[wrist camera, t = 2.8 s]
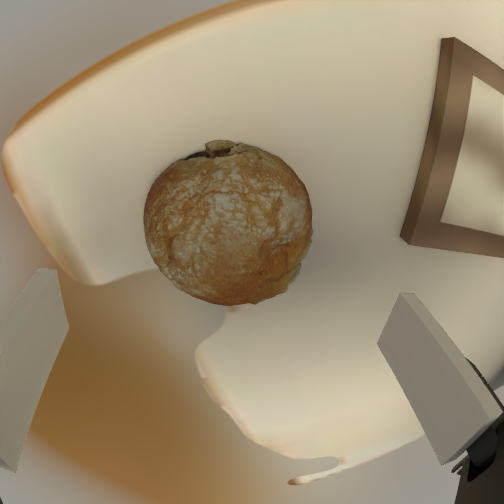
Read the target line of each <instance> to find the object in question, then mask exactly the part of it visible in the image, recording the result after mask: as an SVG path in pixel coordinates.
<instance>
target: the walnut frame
mask: <svg viewBox="0 0 504 504" xmlns="http://www.w3.org/2000/svg"><path fill="white" fill-rule="evenodd" d="M400 237H401V238H402V239H403V240H404V241H406V242H407V243H408V244H409V245H414V246H421V247H429V248H436V249H444V250H451V251H458V252H466V253H473V254H480V255H487V256H493V257H500V258H504V70H503V69H502V68H501V67H499V66H498V65H496V64H495V63H494V62H492V61H491V60H489V59H488V58H486V57H485V56H484V55H482V54H481V53H479V52H478V51H476V50H474V49H473V48H471V47H470V46H468V45H467V44H465V43H463V42H462V41H460V40H458V39H457V38H455V37H451V38H442V43H441V53H440V61H439V69H438V77H437V84H436V90H435V97H434V102H433V108H432V114H431V119H430V124H429V129H428V134H427V139H426V143H425V148H424V152H423V156H422V161H421V165H420V169H419V173H418V177H417V180H416V184H415V188H414V191H413V195H412V199H411V202H410V206H409V209H408V212H407V216H406V219H405V222H404V225H403V228H402V232H401V235H400Z"/></svg>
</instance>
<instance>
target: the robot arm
mask: <svg viewBox="0 0 504 504" xmlns="http://www.w3.org/2000/svg"><path fill="white" fill-rule="evenodd" d="M68 330H69V326H68V322H67V318H66V314H65V309H64V305H63V301H62V296H61V291H60V286H59V281H58V275H57V270H53V269H45V268H39V269H38V270H37V272H36V273H35V274H34V275H33V277H32V278H31V279H30V281H29V282H28V283H27V285H26V286H25V287H24V288H23V290H22V291H21V293H20V294H19V295H18V296H17V298H16V299H15V301H14V302H13V303H12V305H11V306H10V308H9V309H8V310H7V312H6V313H5V315H4V316H3V318H2V319H1V321H0V467H2V468H4V469H7V470H9V471H12V472H14V473H16V470H17V466H18V463H19V459H20V455H21V452H22V449H23V446H24V442H25V439H26V436H27V433H28V430H29V427H30V424H31V421H32V418H33V415H34V412H35V410H36V407H37V404H38V401H39V399H40V396H41V393H42V391H43V388H44V386H45V383H46V381H47V378H48V376H49V373H50V371H51V368H52V366H53V364H54V361H55V359H56V357H57V354H58V352H59V350H60V347H61V345H62V343H63V341H64V338H65V337H66V334H67V332H68ZM377 344H378V346H379V348H380V350H381V351H382V353H383V355H384V357H385V358H386V360H387V362H388V364H389V366H390V367H391V369H392V371H393V373H394V375H395V376H396V378H397V380H398V382H399V384H400V386H401V387H402V389H403V391H404V393H405V395H406V397H407V399H408V400H409V402H410V404H411V406H412V408H413V410H414V412H415V414H416V416H417V418H418V419H419V421H420V423H421V425H422V427H423V429H424V431H425V433H426V435H427V437H428V439H429V441H430V443H431V445H432V447H433V449H434V451H435V453H436V455H437V457H438V460H439V461H440V463H441V465H444V464H446V463H448V462H451V461H453V460H455V459H457V458H458V457H459V456H460V455H461V454H462V453H463V452H464V451H465V450H467V452H468V455H467V456H466V457H465V458H463V459H462V460H461V461H460V462H459V463H458V464H457V465H455V467H453V469H452V473H454V472H455V471H456V470H458V469H459V468H460V467H461V466H463V467H462V469H460V470H459V471H458V472H457V474H458V475H461V477H460V482H459V486H458V491H457V496H456V500H455V504H504V406H503V405H502V403H501V402H500V401H499V399H498V397H497V396H496V394H495V393H494V392H493V390H492V389H491V387H490V386H489V384H488V385H487V382H486V380H485V379H484V377H482V375H481V373H480V372H479V370H478V369H477V368H476V366H475V365H474V364H473V363H471V362H470V361H469V360H468V359H467V358H466V357H464V355H463V354H462V353H461V351H460V350H459V349H458V347H457V346H456V345H455V343H454V342H453V341H452V340H451V338H450V337H449V336H448V334H447V333H446V332H445V331H444V329H443V328H442V327H441V326H440V324H439V323H438V322H437V321H436V319H435V318H434V317H433V316H432V314H431V313H430V312H429V311H428V310H427V308H426V307H425V306H424V305H423V304H422V302H421V301H420V300H419V299H418V298H417V296H416V295H415V294H414V293H400V294H399V296H398V298H397V301H396V303H395V305H394V308H393V310H392V312H391V314H390V316H389V319H388V321H387V323H386V325H385V327H384V329H383V331H382V334H381V336H380V338H379V340H378V342H377ZM0 504H3V503H2V500H1V498H0Z"/></svg>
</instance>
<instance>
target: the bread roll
mask: <svg viewBox="0 0 504 504" xmlns="http://www.w3.org/2000/svg"><path fill="white" fill-rule="evenodd" d="M205 146H206V149H207V150H206V151H202V152H198V153H195V154H192V155H190V156H188V157H187V158H185V159H181V160H179V161H177V162H175V163H174V164H172V165H171V166H170V167H169V168H167V169H166V170H165V171H164V172H163V173H162V174H161V175H160V176H159V177H158V178H157V179H156V180H155V182H154V183H153V185H152V187H151V189H150V191H149V193H148V196H147V200H146V203H145V209H144V218H143V220H144V231H145V238H146V243H147V247H148V250H149V252H150V254H151V256H152V258H153V260H154V262H155V264H156V265H157V266H158V267H159V269H160V271H161V272H162V273H163V274H164V275H165V276H166V277H168V279H169V280H170V281H171V282H172V283H173V284H174V285H175V286H176V287H177V288H178V289H180V290H182V291H184V292H186V293H188V294H190V295H191V296H193V297H196V298H198V299H201V300H204V301H206V302H209V303H213V304H218V305H225V306H232V305H239V304H246V303H251V304H257V303H259V302H261V301H263V300H265V299H269V298H272V297H274V296H276V295H277V294H281V293H284V292H285V291H286V290H287V289H288V288H287V286H288V285H289V284H290V283H292V282H293V281H294V280H295V278H296V276H297V275H298V274H299V271H300V268H301V263H300V261H302V259H303V258H304V257H305V255H306V253H307V251H308V249H309V247H310V244H311V242H312V241H311V236H312V233H313V230H312V226H311V224H312V208H311V204H310V200H309V196H308V192H307V190H306V188H305V185H304V184H303V182H302V181H301V180H300V179H299V178H298V176H297V175H296V173H295V172H294V171H293V170H292V169H291V168H290V167H289V166H288V165H287V164H286V163H285V162H284V161H283V160H282V159H280V158H279V157H277V156H275V155H272V154H270V153H268V152H266V151H263V150H261V149H259V148H255V147H253V146H248V145H245V144H242V143H239V144H238V145H235V144H234V143H233V142H232V141H223V140H215V141H212V142H209V143H207V144H205Z"/></svg>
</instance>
